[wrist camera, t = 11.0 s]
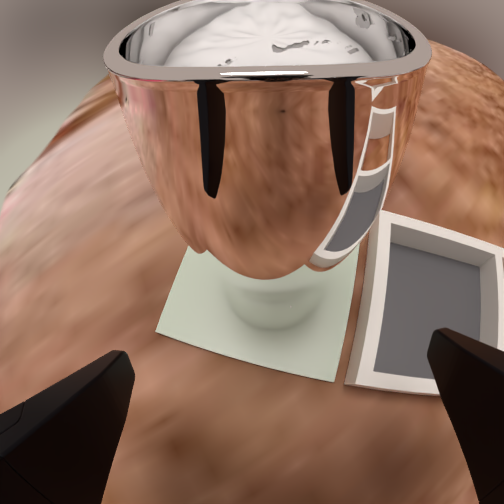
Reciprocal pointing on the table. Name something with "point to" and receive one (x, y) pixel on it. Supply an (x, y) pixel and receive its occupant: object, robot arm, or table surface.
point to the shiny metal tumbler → (270, 134)
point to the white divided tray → (370, 313)
